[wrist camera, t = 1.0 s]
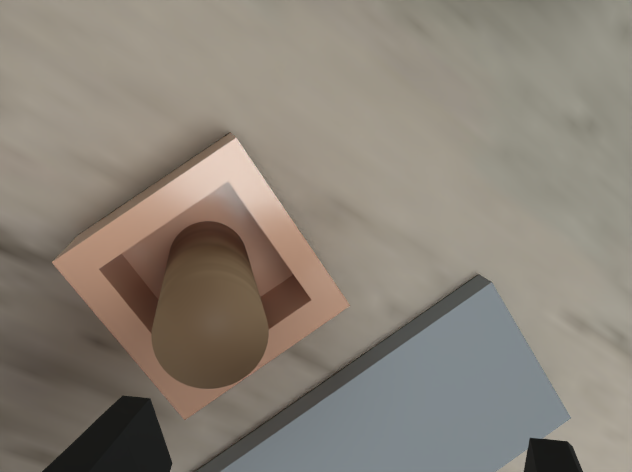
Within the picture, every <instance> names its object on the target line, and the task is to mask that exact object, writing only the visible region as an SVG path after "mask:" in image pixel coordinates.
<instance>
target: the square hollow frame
mask: <svg viewBox="0 0 632 472" xmlns="http://www.w3.org/2000/svg"><path fill="white" fill-rule="evenodd" d="M203 221H213V222H218V223H222V224H224V225H226V226H228V227H230V228H231V229H233V230H234V231H235V232H236V233H237V234H238V235H239V236H240V238H241V239H242V241H243V243H244V245H245V248H246V251H247V255H248V258H249V261H250V265H251V268H252V271H253V275H254V278H255V281H256V285H257V288H258V291H259V295H260V298H261V302H262V305H263V308H264V312H265V315H266V318H267V322H268V328H269V337H268V343H267V347H266V350H265V353H264V355H263V357H262V359H261V360H260V362H259V363H258V365H257V366H256V367H255V369H254V370H253V371H252V372H251V373H249V374H248V375H247V376H246V377H248V376H249V375H251V374H252V373H254V372H255V371H257V370H258V369H259V368H261V367H262V366H264V365H265V364H267V363H268V362H270V361H271V360H273V359H274V358H275V357H277V356H278V355H280V354H281V353H283V352H284V351H286V350H287V349H288V348H290V347H291V346H293V345H294V344H296V343H297V342H299V341H300V340H301V339H303V338H304V337H306V336H307V335H309V334H310V333H312V332H313V331H314V330H316V329H317V328H319V327H320V326H322V325H323V324H325V323H326V322H327V321H329V320H330V319H332V318H333V317H335V316H336V315H338V314H339V313H340V312H342V311H343V310H345V309H346V308H348V307H349V306H350V304H349V303H348V302H347V300H346V299H345V297H344V296H343V294H342V293H341V291H340V290H339V288H338V287H337V285H336V284H335V282H334V281H333V279H332V278H331V277H330V275H329V274H328V272H327V271H326V269H325V268H324V266H323V265H322V263H321V262H320V260H319V259H318V257H317V256H316V254H315V253H314V251H313V250H312V249H311V247H310V246H309V244H308V243H307V241H306V240H305V238H304V237H303V235H302V234H301V232H300V231H299V229H298V228H297V226H296V225H295V224H294V222H293V221H292V219H291V218H290V216H289V215H288V213H287V212H286V210H285V209H284V207H283V206H282V204H281V203H280V201H279V200H278V198H277V197H276V196H275V194H274V193H273V191H272V190H271V188H270V187H269V185H268V184H267V182H266V181H265V179H264V178H263V176H262V175H261V173H260V172H259V171H258V169H257V168H256V166H255V165H254V163H253V162H252V160H251V159H250V157H249V156H248V154H247V153H246V151H245V150H244V148H243V147H242V145H241V144H240V143H239V141H238V140H237V138H236V137H235V136H234V135H233V134H232V133H231V132H230V133H229V134H227V135H226V136H224V137H223V138H221V139H220V140H218V141H217V142H215V143H214V144H212V145H211V146H209V147H208V148H206V149H205V150H203V151H202V152H200V153H199V154H197V155H196V156H195V157H193V158H192V159H190V160H189V161H187V162H186V163H184V164H183V165H181V166H180V167H178V168H177V169H175V170H174V171H172V172H171V173H169V174H168V175H166V176H165V177H163V178H162V179H160V180H159V181H157V182H156V183H155V184H153V185H152V186H150V187H149V188H147V189H146V190H144V191H143V192H141V193H140V194H138V195H137V196H135V197H134V198H132V199H131V200H129V201H128V202H126V203H125V204H123V205H122V206H120V207H119V208H117V209H116V210H114V211H113V212H112V213H110V214H109V215H107V216H106V217H104V218H103V219H101V220H100V221H98V222H97V223H95V224H94V225H92V226H91V227H89V228H88V229H86V230H85V231H83V232H82V233H80V234H79V235H77V237H76V238H75V239H74V240H73V241H72V242H71V243H70V244H69V245H68V246H67V247H66V248H65V249H64V250H63V251H62V252H61V253H60V254H59V255H58V256H57V257H56V258H55V259H54V260H53V261H52V263H53V264H54V265H55V267H56V268H57V269H58V270H59V271H60V273H61V274H62V275H63V276H64V277H65V279H66V280H67V281H68V282H69V283H70V284H71V286H72V287H73V288H74V289H75V290H76V292H77V293H78V294H79V295H80V296H81V298H82V299H83V300H84V301H85V302H86V303H87V305H88V306H89V307H90V308H91V309H92V311H93V312H94V313H95V314H96V315H97V317H98V318H99V319H100V320H101V321H102V323H103V324H104V325H105V326H106V327H107V328H108V330H109V331H110V332H111V333H112V334H113V336H114V337H115V338H116V339H117V340H118V342H119V343H120V344H121V345H122V346H123V347H124V349H125V350H126V351H127V352H128V353H129V355H130V356H131V357H132V358H133V359H134V361H135V362H136V363H137V364H138V365H139V367H140V368H141V369H142V370H143V371H144V372H145V374H146V375H147V376H148V377H149V378H150V380H151V381H152V382H153V383H154V384H155V386H156V387H157V388H158V389H159V390H160V391H161V393H162V394H163V395H164V396H165V397H166V399H167V400H168V401H169V402H170V403H171V405H172V406H173V407H174V408H175V409H176V411H177V412H178V413H179V414H180V415H181V416H182V418H183V419H184V420H186V419H187V418H189V417H190V416H192V415H193V414H194V413H196V412H197V411H199V410H200V409H202V408H203V407H205V406H206V405H207V404H209V403H210V402H212V401H213V400H215V399H216V398H218V397H219V396H220V395H222V394H223V393H225V392H226V391H228V390H229V389H231V388H232V387H233V386H235V385H236V384H238V383H239V382H241V381H242V380H244V379H245V378H246V377H244V378H243V379H241V380H240V381H238V382H236V383H234V384H231V385H228V386H225V387H221V388H215V389H201V388H195V387H191V386H188V385H185V384H183V383H181V382H179V381H177V380H175V379H174V378H173V377H171V376H170V375H169V374H168V373H167V372H166V371H165V370H164V369H163V368H162V366H161V365H160V364H159V362H158V360H157V358H156V356H155V353H154V350H153V346H152V336H151V335H152V327H153V322H154V318H155V313H156V309H157V305H158V300H159V296H160V291H161V287H162V283H163V278H164V274H165V269H166V265H167V261H168V256H169V252H170V248H171V245H172V243H173V241H174V239H175V238H176V237H177V235H178V234H179V233H180V232H181V231H182V230H184V229H185V228H186V227H188V226H190V225H192V224H195V223H198V222H203Z"/></svg>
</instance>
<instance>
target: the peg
mask: <svg viewBox="0 0 632 472" xmlns="http://www.w3.org/2000/svg"><path fill="white" fill-rule="evenodd" d="M151 336H152V346H153V350H154V353H155V356H156V358H157V360H158V362H159V364H160V365H161V366H162V368H163V369H164V370H165V371H166V372H167V373H168V374H169V375H170V376H171V377H173V378H174V379H175V380H177V381H179V382H181V383H183V384H185V385H188V386H191V387H195V388H201V389H215V388H221V387H225V386H228V385H231V384H234V383H236V382H238V381H240V380H241V379H243V378H244V377H246V376H247V375H248V374H249V373H251V372H252V371H253V370H254V369H255V367H256V366H257V365H258V363H259V362H260V360H261V359H262V357H263V355H264V353H265V350H266V347H267V343H268V337H269V328H268V322H267V318H266V315H265V312H264V308H263V305H262V302H261V298H260V295H259V291H258V288H257V285H256V281H255V278H254V275H253V271H252V268H251V265H250V261H249V258H248V255H247V251H246V248H245V245H244V243H243V241H242V239H241V238H240V236H239V235H238V234H237V233H236V232H235V231H234V230H233V229H231V228H230V227H228V226H226V225H224V224H222V223H218V222H213V221H203V222H198V223H195V224H192V225H190V226H188V227H186V228H185V229H184V230H182V231H181V232H180V233H179V234H178V235H177V237H176V238H175V239H174V241H173V243H172V245H171V248H170V252H169V256H168V261H167V265H166V269H165V274H164V278H163V283H162V287H161V291H160V296H159V300H158V305H157V309H156V313H155V318H154V322H153V327H152V335H151Z"/></svg>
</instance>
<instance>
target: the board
mask: <svg viewBox="0 0 632 472" xmlns="http://www.w3.org/2000/svg"><path fill="white" fill-rule="evenodd" d="M570 418H571V417H570V415H569V414H568V412H567V410H566V409H565V407H564V405H563V403H562V402H561V400H560V398H559V397H558V395H557V393H556V391H555V390H554V388H553V386H552V385H551V383H550V381H549V379H548V378H547V376H546V374H545V373H544V371H543V369H542V367H541V366H540V364H539V362H538V361H537V359H536V357H535V355H534V354H533V352H532V350H531V349H530V347H529V345H528V343H527V342H526V340H525V338H524V337H523V335H522V333H521V331H520V330H519V328H518V326H517V325H516V323H515V321H514V319H513V318H512V316H511V314H510V313H509V311H508V309H507V307H506V306H505V304H504V302H503V301H502V299H501V297H500V295H499V294H498V292H497V290H496V289H495V287H494V285H493V283H492V282H491V281H489V280H487V279H486V278H484V277H482V276H481V275H477V276H476V277H474V278H473V279H472V280H470V281H469V282H467V283H466V284H464V285H463V286H461V287H460V288H459V289H457V290H456V291H454V292H453V293H451V294H450V295H449V296H447V297H446V298H444V299H443V300H441V301H440V302H438V303H437V304H436V305H434V306H433V307H431V308H430V309H428V310H427V311H426V312H424V313H423V314H421V315H420V316H418V317H417V318H416V319H414V320H413V321H411V322H410V323H408V324H407V325H405V326H404V327H403V328H401V329H400V330H398V331H397V332H395V333H394V334H393V335H391V336H390V337H388V338H387V339H385V340H384V341H382V342H381V343H380V344H378V345H377V346H375V347H374V348H372V349H371V350H370V351H368V352H367V353H365V354H364V355H362V356H361V357H359V358H358V359H357V360H355V361H354V362H352V363H351V364H349V365H348V366H347V367H345V368H344V369H342V370H341V371H339V372H338V373H336V374H335V375H334V376H332V377H331V378H329V379H328V380H326V381H325V382H324V383H322V384H321V385H319V386H318V387H316V388H315V389H313V390H312V391H311V392H309V393H308V394H306V395H305V396H303V397H302V398H301V399H299V400H298V401H296V402H295V403H293V404H292V405H290V406H289V407H288V408H286V409H285V410H283V411H282V412H280V413H279V414H278V415H276V416H275V417H273V418H272V419H270V420H269V421H267V422H266V423H265V424H263V425H262V426H260V427H259V428H257V429H256V430H255V431H253V432H252V433H250V434H249V435H247V436H246V437H244V438H243V439H242V440H240V441H239V442H237V443H236V444H234V445H233V446H232V447H230V448H229V449H227V450H226V451H224V452H223V453H222V454H220V455H219V456H217V457H216V458H214V459H213V460H211V461H210V462H209V463H207V464H206V465H204V466H203V467H201V468H200V469H199V470H197V471H196V472H496V471H497V470H499V469H500V468H501V467H503V466H504V465H506V464H507V463H508V462H510V461H511V460H513V459H514V458H515V457H517V456H518V455H520V454H521V453H523V452H524V451H525V450H527V449H528V445H529V439H530V438H538V439H542V438H544V437H545V436H546V435H548V434H549V433H551V432H552V431H553V430H555V429H556V428H558V427H559V426H561V425H562V424H563V423H565V422H566V421H568V420H569V419H570Z"/></svg>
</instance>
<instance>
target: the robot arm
mask: <svg viewBox="0 0 632 472" xmlns="http://www.w3.org/2000/svg"><path fill="white" fill-rule="evenodd" d="M171 466H172V461H171V458H170V455H169V452H168V449H167V446H166V443H165V440H164V437H163V434H162V431H161V428H160V426H159V423H158V420H157V417H156V414H155V411H154V408H153V405H152V402H151V399H150V398H141V397H131V396H122V397H121V398H120V399H119V400H117V401H116V402H115V403H114V404H113V405H112V406H111V407H110V408H109V409H108V410H107V411H106V412H105V413H104V414H102V415H101V416H100V417H99V418H98V419H97V420H96V421H95V422H94V423H93V424H92V425H91V426H90V427H89V428H88V429H87V430H86V431H85V432H84V433H83V434H82V435H81V436H79V437H78V438H77V439H76V440H75V441H74V442H73V443H72V444H71V445H70V446H69V447H68V448H67V449H66V450H65V451H64V452H63V453H62V454H61V455H60V456H58V457H57V458H56V459H55V460H54V461H53V462H52V463H51V464H50V465H49V466H48V467H47V468H45V469H44V470H43V471H42V472H170V469H171ZM524 472H583V471H582V468H581V466H580V464H579V461H578V459H577V456H576V454H575V451H574V449H573V446H571V445H570V444H569V443H568V442H567V441H558V440H548V439H538V438H530V439H529V445H528V451H527V457H526V462H525V468H524Z"/></svg>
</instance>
